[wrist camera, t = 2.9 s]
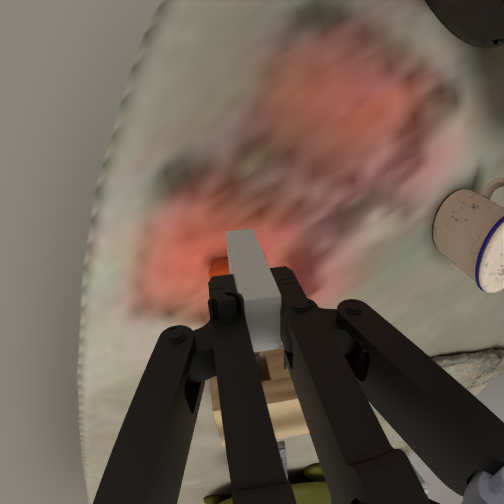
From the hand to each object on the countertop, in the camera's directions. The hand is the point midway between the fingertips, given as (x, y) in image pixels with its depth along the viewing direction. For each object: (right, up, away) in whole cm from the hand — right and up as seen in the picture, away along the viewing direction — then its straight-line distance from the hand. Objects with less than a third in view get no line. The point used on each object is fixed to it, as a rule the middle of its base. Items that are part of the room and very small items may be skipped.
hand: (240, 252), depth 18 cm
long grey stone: (+41, -21, +31) cm, 56 cm away
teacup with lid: (+26, +5, +14) cm, 30 cm away
